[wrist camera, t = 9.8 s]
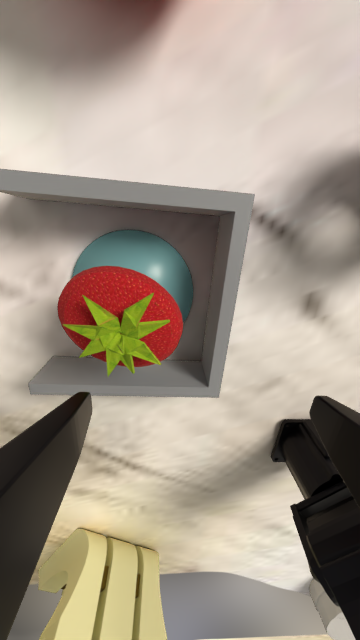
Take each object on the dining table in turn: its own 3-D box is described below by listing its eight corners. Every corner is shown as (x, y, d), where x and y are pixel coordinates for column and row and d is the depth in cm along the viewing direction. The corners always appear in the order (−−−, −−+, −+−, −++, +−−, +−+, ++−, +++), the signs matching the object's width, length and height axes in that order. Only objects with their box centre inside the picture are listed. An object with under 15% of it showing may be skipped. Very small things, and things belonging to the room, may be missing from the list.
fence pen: (209, 369, 22) (218, 397, 18) (54, 365, 21) (30, 394, 17) (234, 202, 17) (254, 194, 13) (25, 182, 15) (-20, 167, 12)
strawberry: (104, 240, 17) (27, 249, 7) (191, 283, 18) (217, 334, 9) (80, 306, 19) (-6, 380, 9) (161, 340, 20) (158, 431, 11)
